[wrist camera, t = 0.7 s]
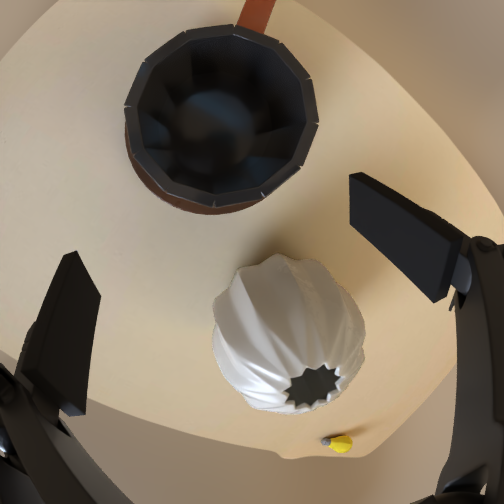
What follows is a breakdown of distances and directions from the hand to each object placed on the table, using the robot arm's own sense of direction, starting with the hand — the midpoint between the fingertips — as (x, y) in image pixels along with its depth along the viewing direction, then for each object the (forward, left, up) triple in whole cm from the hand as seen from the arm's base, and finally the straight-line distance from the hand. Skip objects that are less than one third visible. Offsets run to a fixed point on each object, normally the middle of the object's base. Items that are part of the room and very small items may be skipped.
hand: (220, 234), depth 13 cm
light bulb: (+45, -12, -15) cm, 49 cm away
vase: (+14, -3, -15) cm, 21 cm away
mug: (-5, +6, -14) cm, 16 cm away
